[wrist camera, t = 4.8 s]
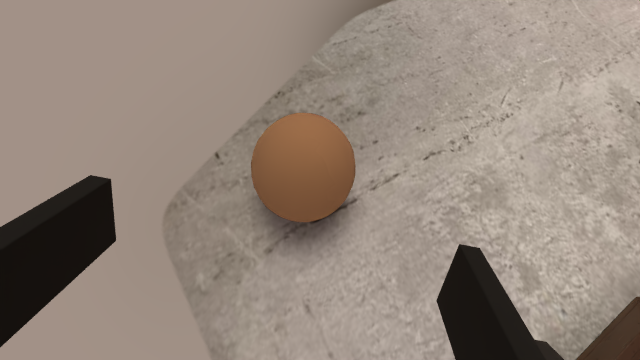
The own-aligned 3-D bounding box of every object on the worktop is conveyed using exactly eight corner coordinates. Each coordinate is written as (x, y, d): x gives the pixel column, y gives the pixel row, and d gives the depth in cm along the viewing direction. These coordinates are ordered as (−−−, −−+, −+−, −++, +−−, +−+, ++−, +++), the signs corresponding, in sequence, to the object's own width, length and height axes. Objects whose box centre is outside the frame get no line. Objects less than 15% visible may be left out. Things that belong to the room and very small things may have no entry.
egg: (323, 137, 27) (335, 69, 19) (360, 211, 25) (390, 168, 17) (244, 167, 26) (223, 106, 18) (277, 247, 24) (269, 217, 16)
